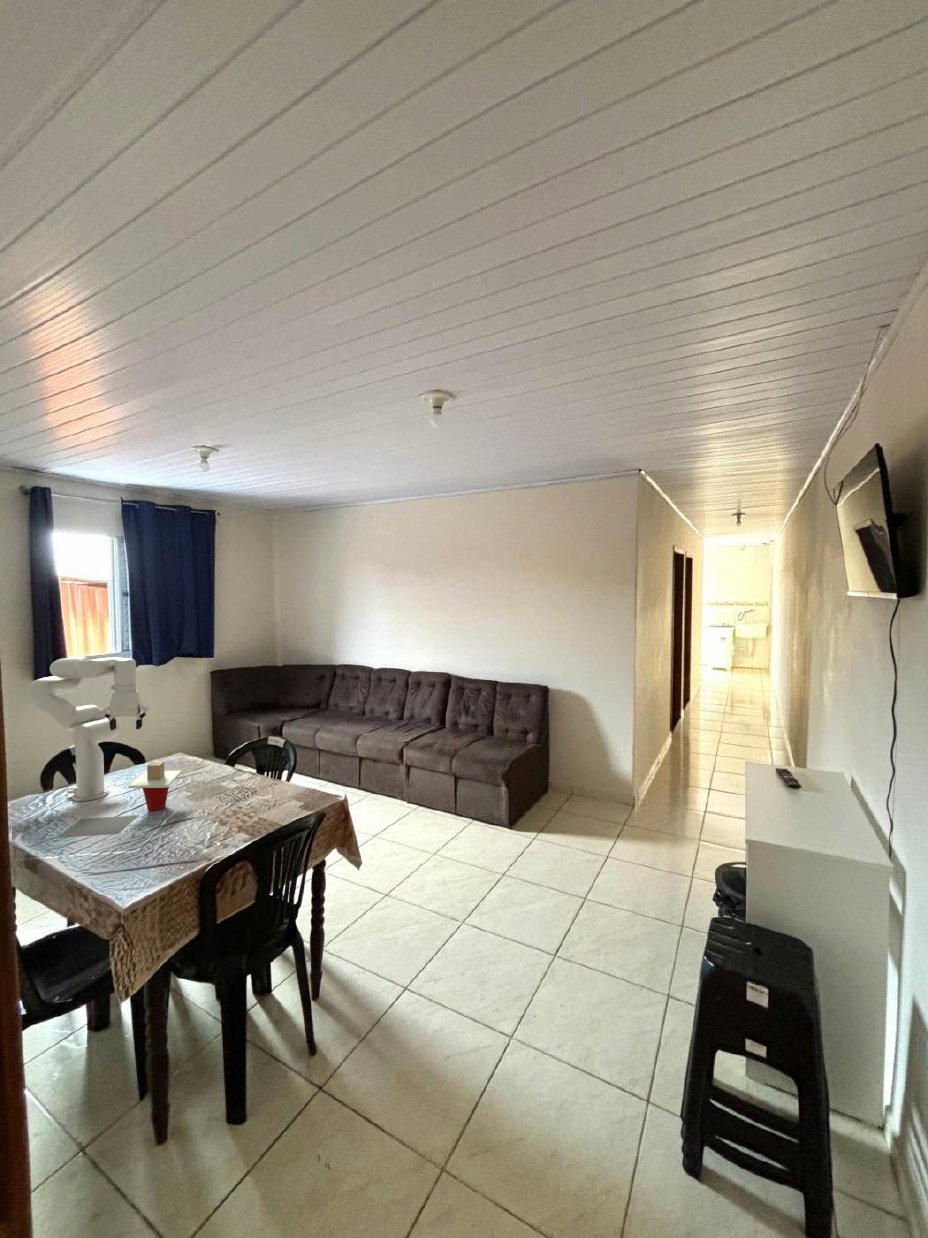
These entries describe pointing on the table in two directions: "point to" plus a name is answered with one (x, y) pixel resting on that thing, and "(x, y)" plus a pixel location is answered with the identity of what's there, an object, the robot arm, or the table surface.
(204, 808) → the table surface
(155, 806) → the plastic cup
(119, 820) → the mat
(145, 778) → the lid
